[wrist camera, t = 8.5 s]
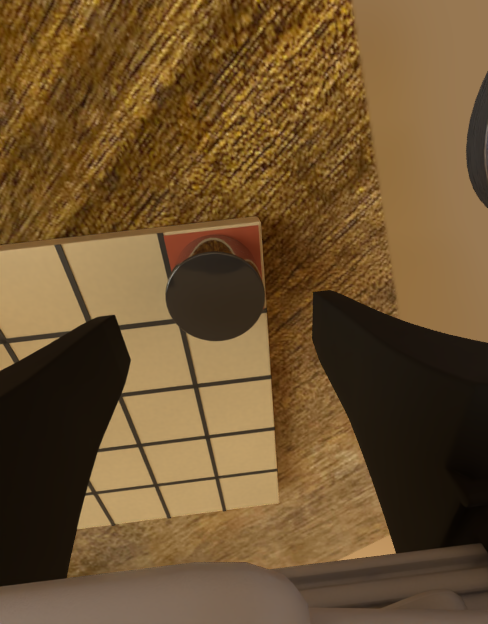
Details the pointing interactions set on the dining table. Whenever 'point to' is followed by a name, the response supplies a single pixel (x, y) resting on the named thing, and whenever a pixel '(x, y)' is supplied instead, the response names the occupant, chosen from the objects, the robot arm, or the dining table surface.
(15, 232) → the dining table surface
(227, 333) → the dark grey cylinder
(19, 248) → the board
